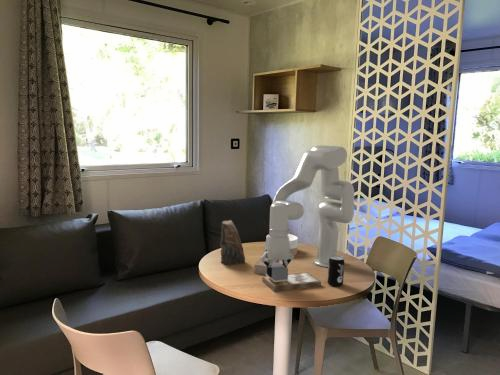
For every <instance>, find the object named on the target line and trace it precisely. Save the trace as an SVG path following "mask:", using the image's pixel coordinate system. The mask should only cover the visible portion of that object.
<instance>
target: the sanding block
mask: <svg viewBox="0 0 500 375" xmlns="http://www.w3.org/2000/svg"><path fill="white" fill-rule="evenodd" d="M282 264H283V263H281V262H280V261H279V262H277V263H272V265H271V268H272V276H271V277H269V276H268V275H267V266H266V275H265V277H267V276H268V277H269V278H270V279H271V280H272V281H274V282H280V281H288V274H289V268H288V267H287V268H286V267H285V266H283V265H282Z"/></svg>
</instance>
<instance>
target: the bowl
mask: <svg viewBox="0 0 500 375" xmlns="http://www.w3.org/2000/svg"><path fill="white" fill-rule="evenodd" d="M267 236H269V234H267V235H266V239H267ZM287 236H288V237H289V243H290V252H291V253H292V254H293V255H294V256H295V255H297V254H298V246H299V238H298V236H296V235H294V234H290V233H288V235H287ZM266 239H265V240H266Z"/></svg>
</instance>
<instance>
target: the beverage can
mask: <svg viewBox="0 0 500 375" xmlns="http://www.w3.org/2000/svg"><path fill="white" fill-rule="evenodd" d="M341 256H342V255H340V256H330V259H329V265H328V267H327V283H328V285H329V286H330V287H336V288H337V287H342V286H343V285H344V276H345V274H344V273H345V259H344V258H343V257H341Z"/></svg>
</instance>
